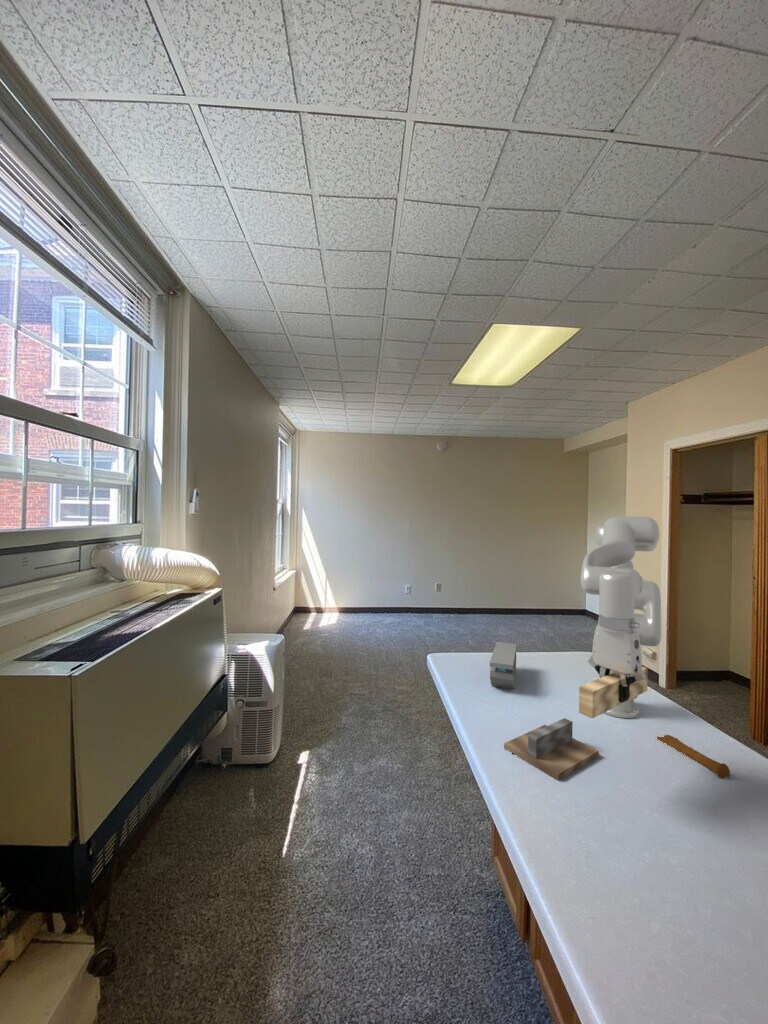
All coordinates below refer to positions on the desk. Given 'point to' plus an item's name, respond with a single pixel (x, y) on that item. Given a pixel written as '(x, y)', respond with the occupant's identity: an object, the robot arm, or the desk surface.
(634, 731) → the desk surface
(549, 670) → the desk surface
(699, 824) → the desk surface
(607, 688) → the oak batten
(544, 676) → the desk surface
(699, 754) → the primitive tool
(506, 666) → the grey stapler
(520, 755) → the stand
